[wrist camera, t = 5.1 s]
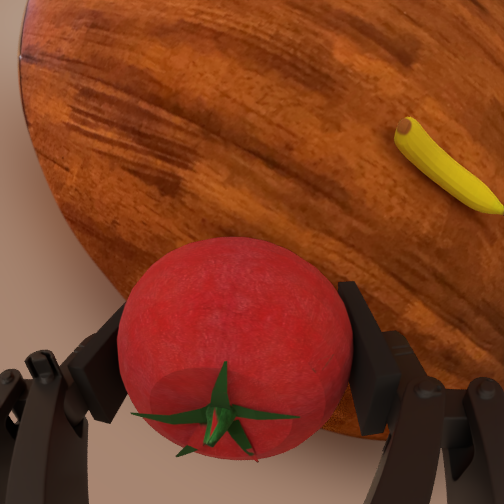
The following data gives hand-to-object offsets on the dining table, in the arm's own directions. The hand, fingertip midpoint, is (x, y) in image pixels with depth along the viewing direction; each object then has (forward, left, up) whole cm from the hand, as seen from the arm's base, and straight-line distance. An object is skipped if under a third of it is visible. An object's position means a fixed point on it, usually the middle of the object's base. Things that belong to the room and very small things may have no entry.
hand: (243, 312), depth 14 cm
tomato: (0, 0, -1) cm, 1 cm away
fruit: (+8, +12, -8) cm, 16 cm away
